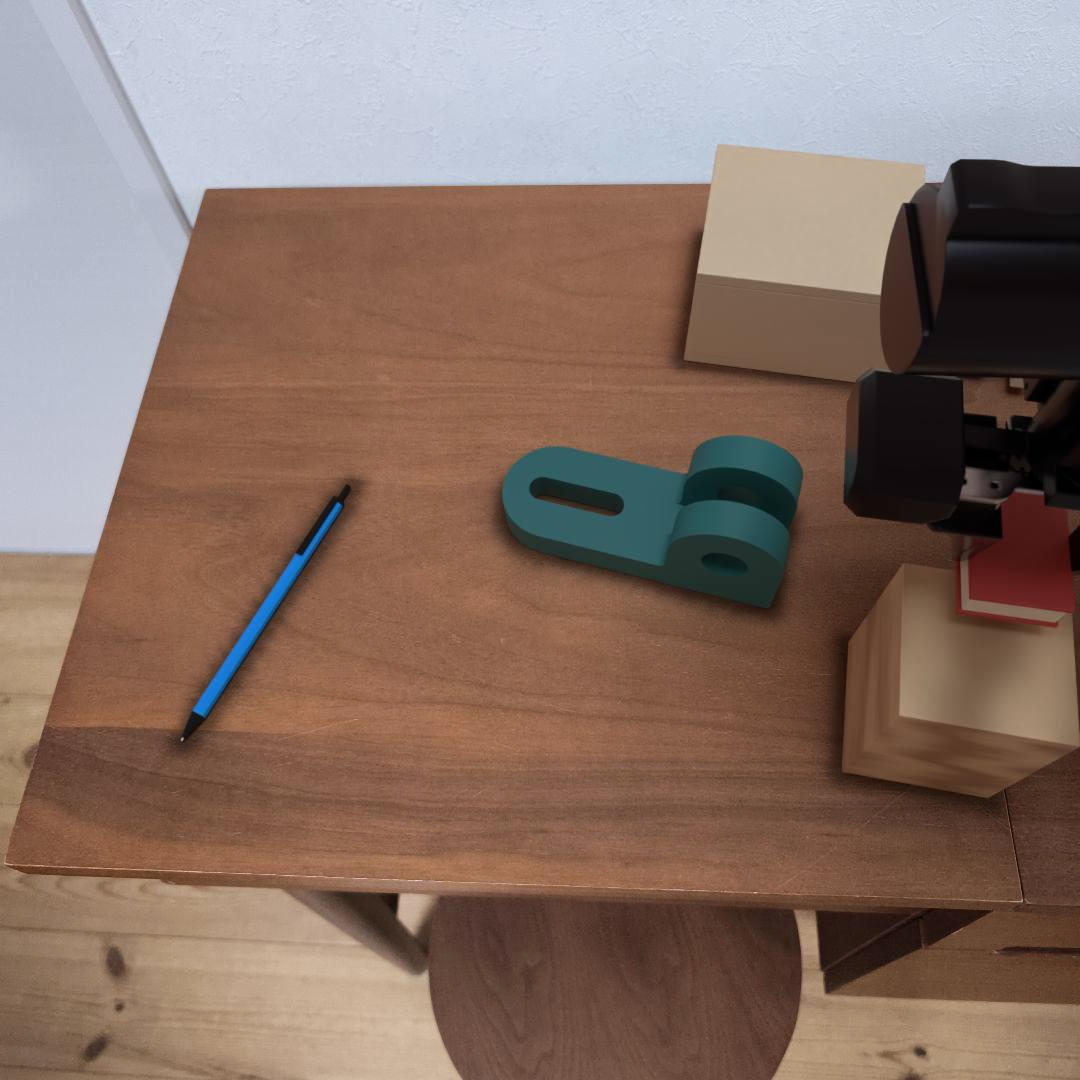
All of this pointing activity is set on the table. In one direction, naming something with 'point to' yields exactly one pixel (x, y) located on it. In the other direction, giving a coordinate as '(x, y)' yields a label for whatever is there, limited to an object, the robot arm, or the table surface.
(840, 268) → the cabinet
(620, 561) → the bracket
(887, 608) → the stand
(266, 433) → the table surface
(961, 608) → the book
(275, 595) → the pen
